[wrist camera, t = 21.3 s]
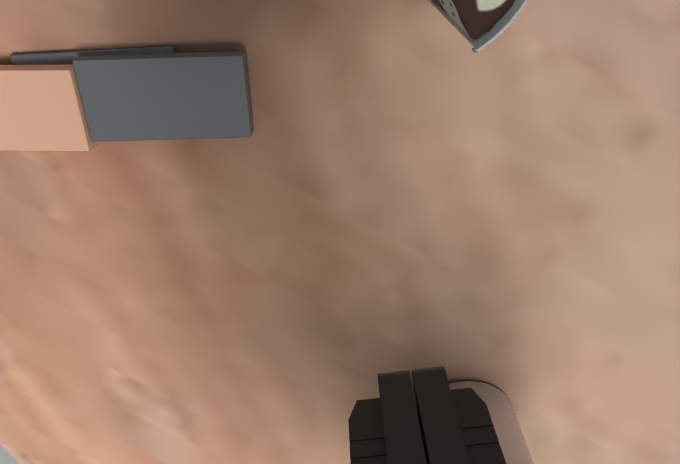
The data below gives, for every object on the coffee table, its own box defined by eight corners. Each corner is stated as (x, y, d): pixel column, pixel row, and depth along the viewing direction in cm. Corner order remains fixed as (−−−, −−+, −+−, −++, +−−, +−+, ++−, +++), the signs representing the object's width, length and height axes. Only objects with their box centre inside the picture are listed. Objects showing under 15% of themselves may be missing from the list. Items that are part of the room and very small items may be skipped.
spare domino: (89, 150, 35) (-62, 149, 36) (100, 142, 37) (-45, 141, 37) (69, 70, 33) (-92, 70, 34) (82, 64, 34) (-73, 65, 35)
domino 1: (250, 137, 35) (92, 141, 35) (253, 129, 37) (101, 133, 37) (242, 55, 33) (72, 60, 33) (245, 50, 34) (82, 55, 34)
